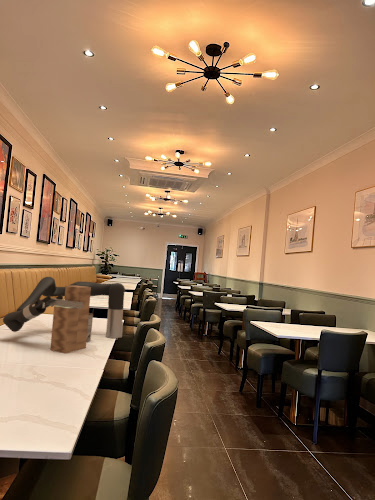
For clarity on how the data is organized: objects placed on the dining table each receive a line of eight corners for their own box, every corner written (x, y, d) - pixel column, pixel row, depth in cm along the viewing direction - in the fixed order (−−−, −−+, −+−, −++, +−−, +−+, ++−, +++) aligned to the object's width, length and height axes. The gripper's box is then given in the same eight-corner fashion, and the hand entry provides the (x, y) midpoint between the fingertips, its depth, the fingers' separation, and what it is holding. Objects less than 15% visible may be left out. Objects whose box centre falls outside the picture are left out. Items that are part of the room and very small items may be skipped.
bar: (44, 304, 185) (45, 298, 185) (49, 303, 188) (49, 297, 188) (78, 308, 176) (79, 302, 176) (82, 308, 179) (83, 302, 179)
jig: (50, 350, 179) (55, 286, 180) (70, 345, 193) (75, 285, 194) (65, 353, 175) (71, 287, 176) (85, 347, 189) (90, 287, 190)
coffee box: (71, 340, 203) (73, 312, 204) (79, 338, 209) (81, 311, 210) (83, 343, 199) (85, 314, 200) (91, 341, 205) (93, 313, 206)
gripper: (21, 304, 184) (43, 290, 179) (42, 302, 197) (63, 290, 192) (25, 317, 182) (48, 304, 177) (46, 315, 195) (68, 302, 190)
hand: (56, 297), depth 184 cm, fingers open, 8 cm apart
